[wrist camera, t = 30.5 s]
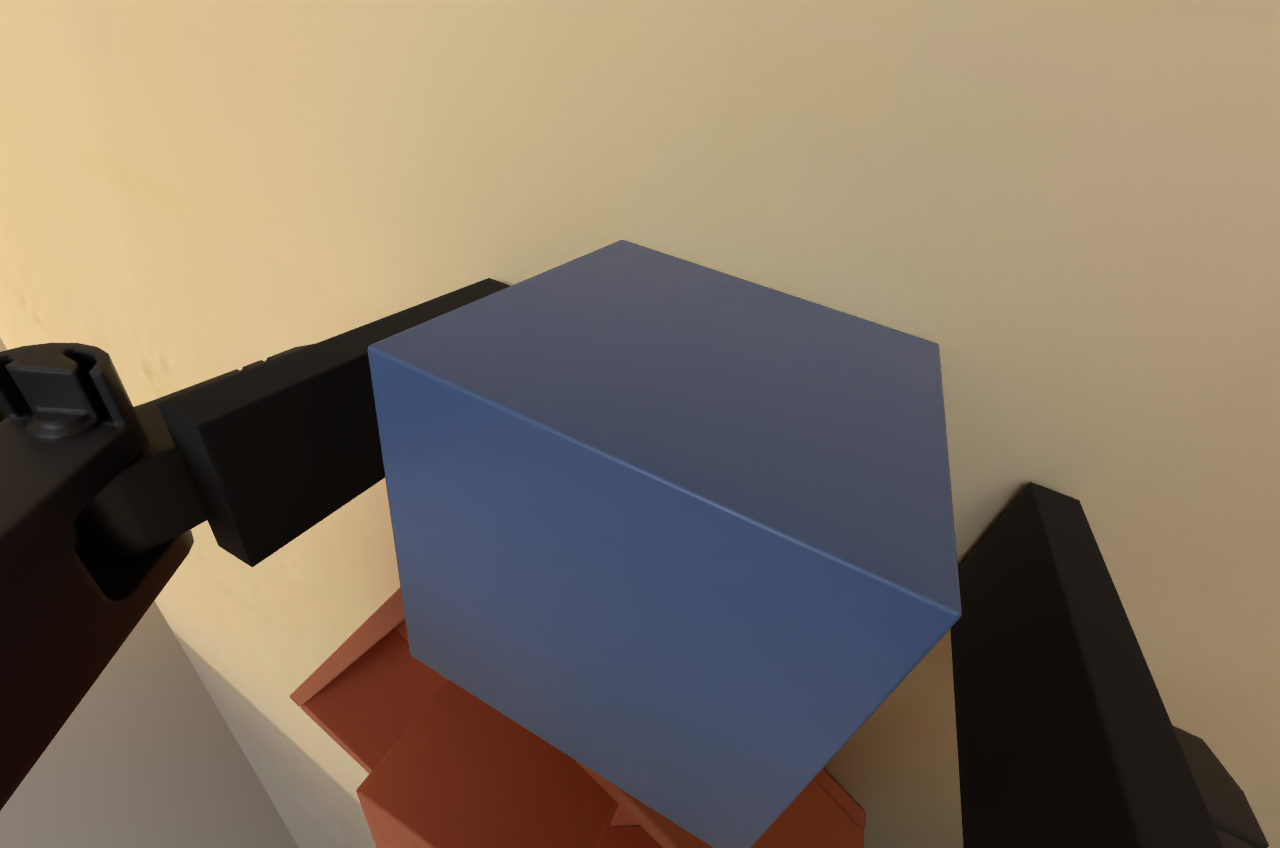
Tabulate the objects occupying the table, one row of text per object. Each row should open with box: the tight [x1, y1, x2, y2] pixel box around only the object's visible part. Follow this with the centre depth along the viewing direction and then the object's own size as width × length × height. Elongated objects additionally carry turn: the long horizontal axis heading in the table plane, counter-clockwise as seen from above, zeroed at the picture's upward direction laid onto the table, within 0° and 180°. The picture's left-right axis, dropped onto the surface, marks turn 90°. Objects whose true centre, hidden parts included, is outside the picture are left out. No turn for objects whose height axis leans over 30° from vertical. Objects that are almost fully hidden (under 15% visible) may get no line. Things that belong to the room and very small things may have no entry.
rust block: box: [356, 680, 619, 848], centre depth 17 cm, size 6×6×6 cm
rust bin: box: [290, 587, 866, 848], centre depth 17 cm, size 14×14×4 cm
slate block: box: [368, 240, 961, 848], centre depth 9 cm, size 6×6×6 cm
